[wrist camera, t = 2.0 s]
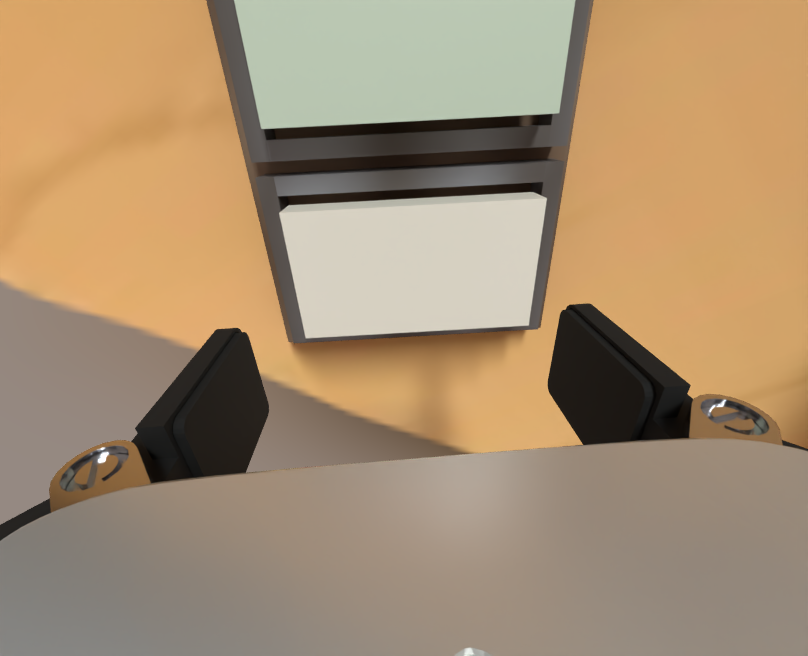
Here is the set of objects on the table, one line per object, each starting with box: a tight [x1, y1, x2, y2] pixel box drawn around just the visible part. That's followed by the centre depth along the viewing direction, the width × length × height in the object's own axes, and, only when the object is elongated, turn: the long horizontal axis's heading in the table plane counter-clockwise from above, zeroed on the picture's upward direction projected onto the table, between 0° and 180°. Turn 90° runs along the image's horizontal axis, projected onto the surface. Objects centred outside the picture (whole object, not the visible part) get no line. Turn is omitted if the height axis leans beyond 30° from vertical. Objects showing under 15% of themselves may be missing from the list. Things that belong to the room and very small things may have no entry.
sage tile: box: [234, 0, 575, 129], centre depth 12 cm, size 11×6×2 cm, turn 93°
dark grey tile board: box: [206, 0, 593, 343], centre depth 14 cm, size 15×28×3 cm, turn 3°
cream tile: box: [279, 192, 547, 338], centre depth 17 cm, size 11×6×2 cm, turn 93°
